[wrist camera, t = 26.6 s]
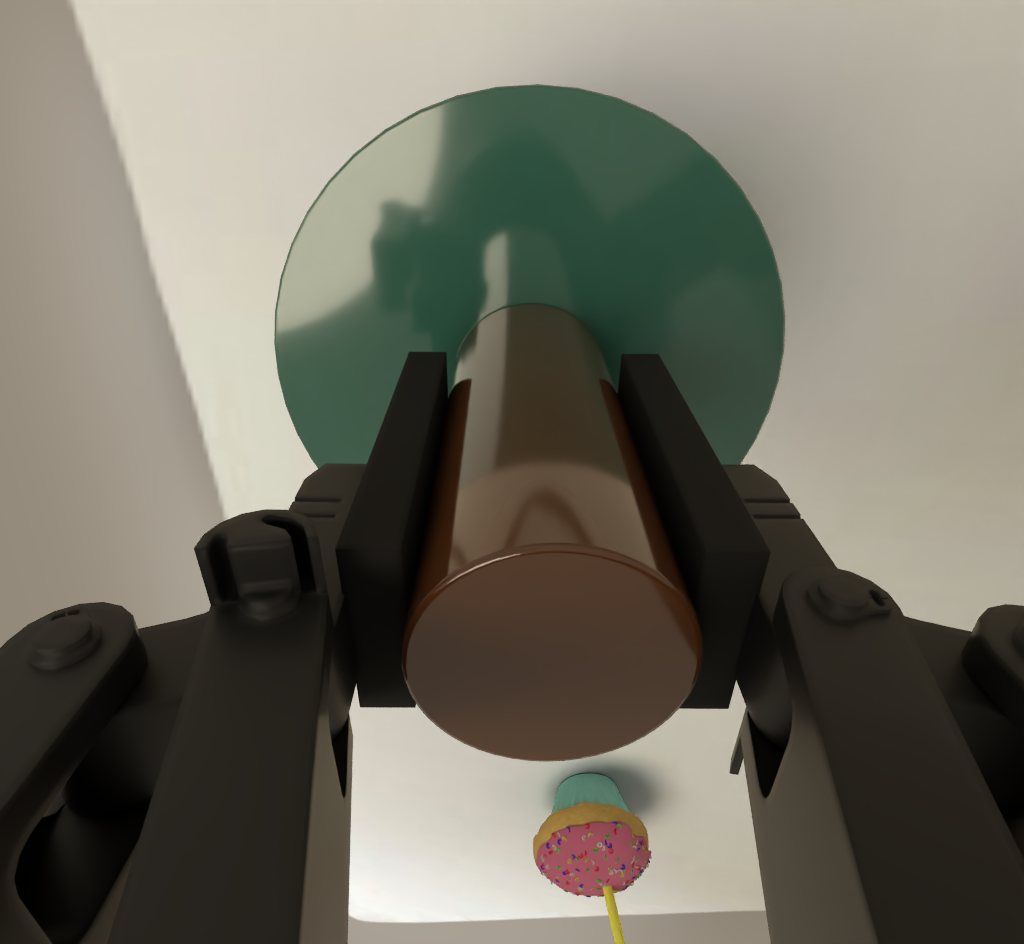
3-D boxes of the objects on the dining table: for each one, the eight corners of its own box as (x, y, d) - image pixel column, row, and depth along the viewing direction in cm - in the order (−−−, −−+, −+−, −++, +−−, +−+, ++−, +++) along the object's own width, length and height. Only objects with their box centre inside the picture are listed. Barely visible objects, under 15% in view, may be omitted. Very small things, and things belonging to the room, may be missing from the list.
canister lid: (721, 549, 20) (895, 923, 11) (323, 546, 19) (172, 923, 11) (823, 88, 13) (1417, 87, 5) (244, 80, 13) (-264, 63, 5)
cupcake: (661, 784, 51) (700, 960, 41) (592, 834, 54) (612, 1008, 44) (576, 743, 48) (595, 920, 38) (510, 798, 52) (510, 974, 42)
